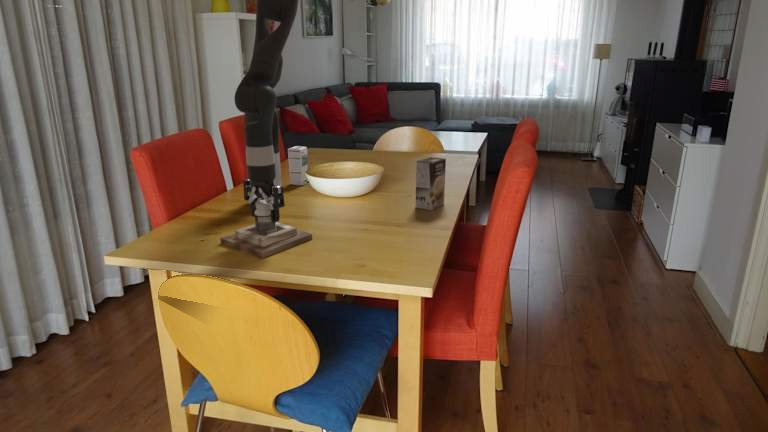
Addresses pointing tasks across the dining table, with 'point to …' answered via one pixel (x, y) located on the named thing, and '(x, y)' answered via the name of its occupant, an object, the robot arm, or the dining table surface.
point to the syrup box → (298, 165)
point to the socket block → (266, 240)
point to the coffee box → (430, 183)
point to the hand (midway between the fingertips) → (265, 218)
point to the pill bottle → (264, 219)
